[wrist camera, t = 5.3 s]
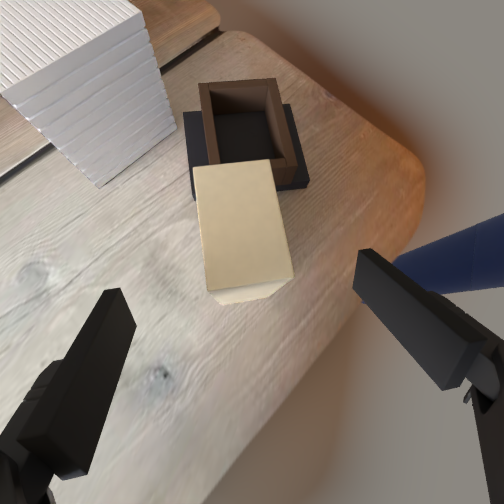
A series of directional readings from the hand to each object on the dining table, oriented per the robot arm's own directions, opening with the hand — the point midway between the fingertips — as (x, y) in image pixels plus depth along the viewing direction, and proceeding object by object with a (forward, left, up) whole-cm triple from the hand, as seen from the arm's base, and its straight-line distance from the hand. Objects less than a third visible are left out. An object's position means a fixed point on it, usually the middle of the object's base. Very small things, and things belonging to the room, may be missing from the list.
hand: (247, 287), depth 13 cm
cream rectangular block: (+2, -3, -9) cm, 10 cm away
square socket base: (+6, -15, -9) cm, 18 cm away
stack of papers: (+31, -16, -9) cm, 36 cm away
